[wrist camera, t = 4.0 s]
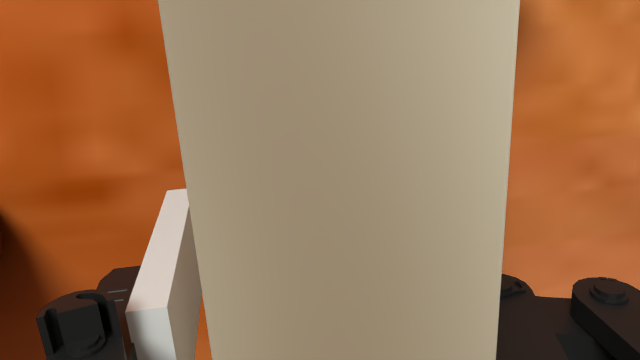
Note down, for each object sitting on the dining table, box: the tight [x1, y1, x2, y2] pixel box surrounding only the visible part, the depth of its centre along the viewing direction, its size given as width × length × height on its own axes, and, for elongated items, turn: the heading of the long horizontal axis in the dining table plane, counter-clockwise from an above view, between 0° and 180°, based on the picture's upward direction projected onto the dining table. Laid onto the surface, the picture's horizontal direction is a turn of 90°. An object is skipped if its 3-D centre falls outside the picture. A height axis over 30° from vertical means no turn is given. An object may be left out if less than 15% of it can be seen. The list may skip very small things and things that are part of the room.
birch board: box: [158, 0, 520, 360], centre depth 16 cm, size 2×16×23 cm, turn 3°
